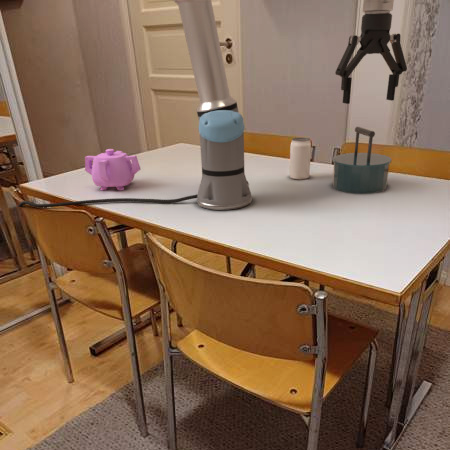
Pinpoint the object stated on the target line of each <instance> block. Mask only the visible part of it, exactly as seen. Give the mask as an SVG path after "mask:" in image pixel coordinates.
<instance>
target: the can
mask: <svg viewBox="0 0 450 450" xmlns="http://www.w3.org/2000/svg"><path fill="white" fill-rule="evenodd" d="M311 154H312V143H311V138H309V137H303V136H302V137H299V136H298V137H293V138H291V142H290V148H289V177H290V179H291V180H297V181H299V180H302V181H303V180H307V179H309V178H310V174H311V156H312V155H311Z"/></svg>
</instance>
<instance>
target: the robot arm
mask: <svg viewBox="0 0 450 450" xmlns="http://www.w3.org/2000/svg"><path fill="white" fill-rule="evenodd" d="M172 1H173V2H174V3H175V4H177V6H178V11H179V15H180V19H181V24H182V29H183V33H184V37H185V41H186V45H187V49H188V50H187V51H188V56H189V58H190V64H191V68H192V73H193V76H194V77H193V78H194V81H195V86H196V90H197V95H198V99H199V105H198V106H197V109H196V114H197V118H198V132H199V144H200V160H201V162H200V163H201V179H200V182H199V187H198V192H197V194H192V195H188V196H187V195H186V196H183V197H178V198H173V199H172V198H171V199H161V198H160V199H159V198H133V197H132V198H131V197H127V198H126V197H121V198H100V199H99V198H97V199H88V200H87V199H86V200H77V201H76V200H75V201H66V202H54V203H34V202H32V201H28V200H23V201H21V202H20V203H19V204H18V206H17V208H22V207H24V205H27V206H30V207H32V208H39V209H40V208H54V207H55V208H57V207H66V206H67V207H68V206H77V205H79V206H80V205H88V204H89V205H90V204H103V203H118V202H120V203H122V202H123V203H127V202H128V203H157V204H174V203H175V204H176V203H181V202H184V201H189V200H194V199H196V200H197V201H196V202H197V203H196V204H197V205H198V206H199V207H201V208H203V209H207V210H214V211H229V210H236V209H242V208H245V207H247V206H248V205H250V204H251V203H252V192H251V189H250V184H249V181H248V180H247V177H246V174H245V173H246V172H245V122H244V117H243V115H242V114H241V113H240V112H239V107H238V102H237V99H235V98H234V97H232V96H231V93H230V89H229V84H228V79H227V74H226V68H225V64H224V58H223V54H222V53H223V52H222V48H221V44H220V38H219V34H218V27H217V23H216V22H217V21H216V18H215V13H214V7H213V3H212V0H172ZM394 1H395V0H363V3H362V12H363V13H364V14H363V15H362V17H361V25H360V36H358V35H350V36H349V38H348V43H347V47H346V48H345V50H344V53H343V55H342V57H341V59H340V61H339V63H338V65H337V66H336V67H337V68H336V69H335V73H334V74H335V75H336V76H339V77H340V78H341V83H340V90H341V91H342V92H343V94H342V104H346V105H348V104H350V102H351V94H352V93H351V91H352V80H353V77H350V76H351V75H352V73H353V72H354V71H355V69H356V68H357V66H358V65H359V64H360V62H361V61H362V60H363V58H364V57H365V56H367V55H373V54H378V55H379V54H380V55H381V56H382V58H383V60H384V61H385V63H386V65H387V66H388V68H389V70H390V72H391V73H392V74H388V83H387V91H386V99H385V100H386V101H392V102H393V101H395V95H396V94H395V93H396V88H397V87H398V86H399V81H400V75H402V74H403V73H404V72H406V71H408V66H407V63H406V58H405V55H404V51H403V48H402V44H401V34H400V33H392V34H390V32H391V28H392V22H393V21H392V20H393V14H392V13H391V12H392V11H393V10H394V4H395V3H394ZM389 43H390V44H391V49H392V52H393V55H392V52H391V49H390V47H389V46H388V44H389ZM357 45H360V47H359V48H358V50H357V51H356V53H355V50H356V48H357ZM354 53H355V54H354ZM353 54H354V56H353ZM351 58H352V59H351Z"/></svg>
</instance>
